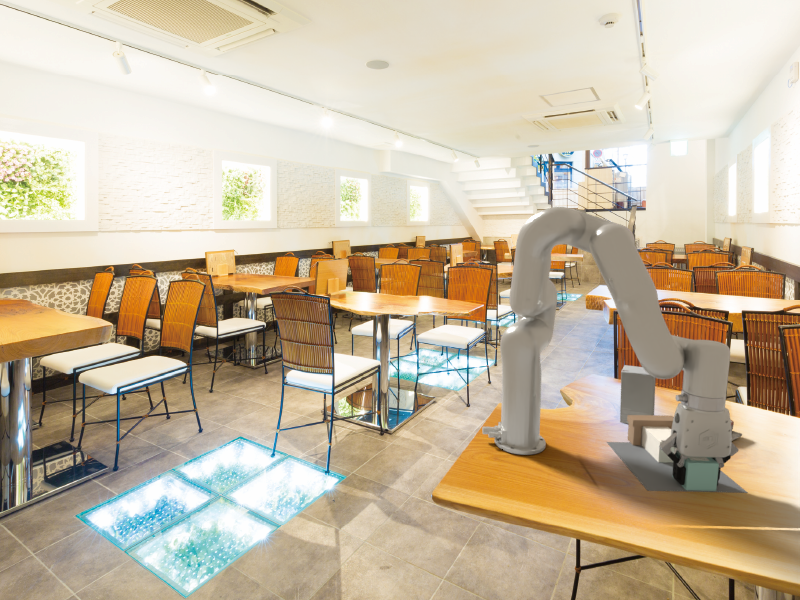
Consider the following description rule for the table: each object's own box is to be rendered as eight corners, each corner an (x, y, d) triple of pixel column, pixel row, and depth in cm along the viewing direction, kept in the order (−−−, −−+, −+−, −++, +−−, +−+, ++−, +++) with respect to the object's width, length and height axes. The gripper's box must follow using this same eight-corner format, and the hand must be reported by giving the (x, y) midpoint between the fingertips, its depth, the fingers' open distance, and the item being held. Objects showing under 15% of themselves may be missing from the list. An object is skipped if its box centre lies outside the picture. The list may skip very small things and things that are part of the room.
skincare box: (653, 421, 130) (658, 367, 127) (651, 431, 124) (656, 374, 121) (620, 415, 134) (624, 363, 132) (617, 424, 128) (621, 369, 126)
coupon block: (647, 462, 107) (649, 435, 106) (625, 438, 118) (626, 414, 117) (696, 462, 106) (698, 435, 105) (669, 439, 118) (671, 415, 117)
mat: (647, 492, 95) (647, 490, 95) (606, 443, 117) (606, 441, 117) (747, 494, 94) (747, 492, 94) (687, 444, 116) (687, 443, 116)
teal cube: (686, 490, 95) (688, 462, 94) (672, 476, 100) (674, 450, 99) (716, 490, 95) (719, 463, 94) (700, 476, 100) (703, 450, 99)
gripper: (669, 407, 91) (662, 491, 94) (759, 408, 90) (750, 492, 93) (650, 393, 98) (644, 472, 101) (734, 394, 98) (725, 473, 100)
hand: (695, 481), depth 97 cm, fingers closed on teal cube, 6 cm apart
